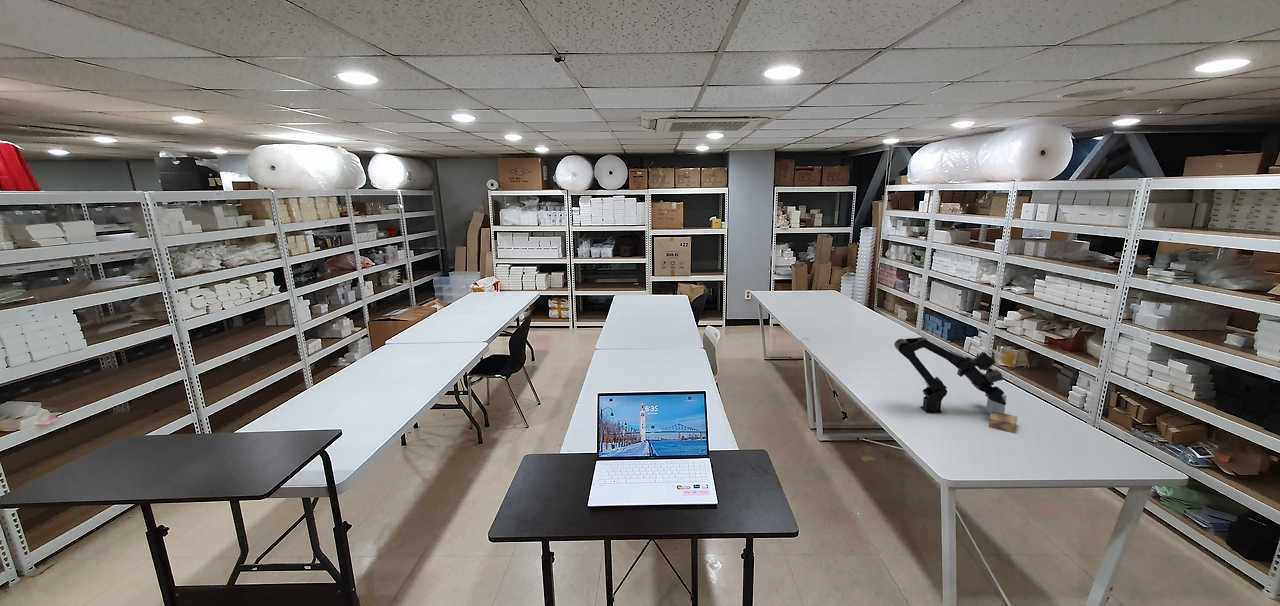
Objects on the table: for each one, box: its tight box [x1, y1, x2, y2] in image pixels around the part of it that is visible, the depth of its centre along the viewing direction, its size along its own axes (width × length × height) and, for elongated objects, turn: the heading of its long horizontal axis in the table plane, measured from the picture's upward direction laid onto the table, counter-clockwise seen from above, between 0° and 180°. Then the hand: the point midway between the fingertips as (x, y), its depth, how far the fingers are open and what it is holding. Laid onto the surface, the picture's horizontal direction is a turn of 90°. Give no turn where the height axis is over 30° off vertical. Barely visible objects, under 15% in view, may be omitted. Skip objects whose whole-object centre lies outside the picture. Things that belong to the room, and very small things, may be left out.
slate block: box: [985, 393, 1008, 416], centre depth 215 cm, size 5×5×10 cm
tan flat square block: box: [988, 411, 1018, 433], centre depth 204 cm, size 9×9×4 cm
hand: (1000, 400), depth 215 cm, fingers open, 9 cm apart
